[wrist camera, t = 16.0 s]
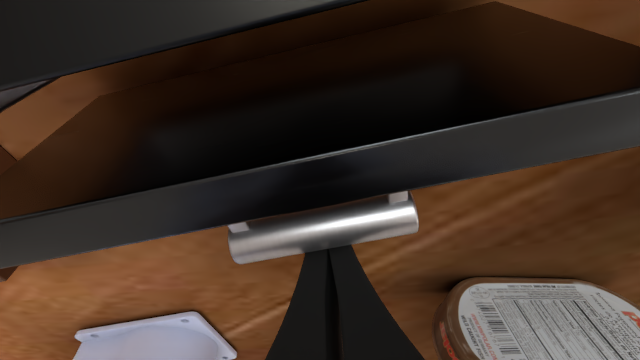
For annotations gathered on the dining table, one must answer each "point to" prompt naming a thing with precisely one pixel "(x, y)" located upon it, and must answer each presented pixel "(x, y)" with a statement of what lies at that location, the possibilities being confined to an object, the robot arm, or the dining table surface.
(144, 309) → the dining table surface
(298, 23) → the dining table surface
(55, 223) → the drawer
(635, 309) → the tin
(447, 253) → the dining table surface
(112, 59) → the black box
